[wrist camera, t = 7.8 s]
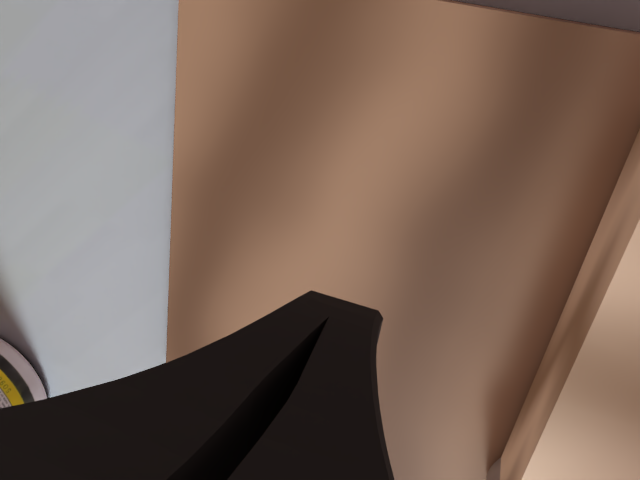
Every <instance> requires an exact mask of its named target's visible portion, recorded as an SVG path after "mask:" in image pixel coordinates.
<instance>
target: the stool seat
mask: <svg viewBox="0 0 640 480" xmlns="http://www.w3.org/2000/svg"><path fill="white" fill-rule="evenodd" d="M639 129H640V32H635V31H629V30H623V29H617V28H611V27H605V26H599V25H593V24H587V23H581V22H576V21H570V20H564V19H558V18H552V17H546V16H540V15H534V14H528V13H522V12H517V11H511V10H505V9H499V8H493V7H487V6H481V5H475V4H469V3H463V2H458V1H452V0H179V10H178V38H177V67H176V96H175V124H174V153H173V181H172V210H171V239H170V267H169V296H168V325H167V353H166V363H167V362H169V361H172V360H175V359H177V358H179V357H182V356H184V355H187V354H189V353H191V352H193V351H195V350H198V349H200V348H202V347H204V346H206V345H208V344H211V343H213V342H215V341H217V340H219V339H222V338H224V337H226V336H228V335H230V334H232V333H234V332H236V331H238V330H239V329H241V328H243V327H245V326H247V325H249V324H251V323H253V322H255V321H257V320H258V319H260V318H262V317H264V316H266V315H267V314H269V313H271V312H273V311H275V310H276V309H278V308H280V307H282V306H283V305H285V304H287V303H289V302H290V301H292V300H294V299H296V298H298V297H299V296H301V295H303V294H305V293H307V292H309V291H311V290H312V291H316V292H319V293H322V294H325V295H329V296H332V297H335V298H339V299H342V300H345V301H349V302H352V303H355V304H359V305H362V306H365V307H369V308H372V309H375V310H379V312H380V314H381V315H382V317H383V322H382V326H381V330H380V335H379V339H378V343H377V353H376V367H377V383H378V396H379V404H380V411H381V418H382V424H383V431H384V436H385V441H386V446H387V451H388V455H389V460H390V464H391V468H392V472H393V476H394V480H486V477H487V473H488V471H489V469H490V467H491V466H492V465H493V464H494V463H495V462H496V461H497V460H498V459H499V458H501V456H502V454H503V452H504V449H505V447H506V444H507V442H508V440H509V437H510V435H511V433H512V430H513V428H514V426H515V423H516V421H517V418H518V416H519V414H520V411H521V409H522V407H523V404H524V402H525V399H526V397H527V395H528V392H529V390H530V388H531V385H532V383H533V380H534V378H535V376H536V373H537V371H538V369H539V366H540V364H541V362H542V359H543V357H544V354H545V352H546V350H547V347H548V345H549V343H550V340H551V338H552V335H553V333H554V331H555V328H556V326H557V324H558V321H559V319H560V316H561V314H562V312H563V309H564V307H565V305H566V302H567V300H568V298H569V295H570V293H571V290H572V288H573V286H574V283H575V281H576V279H577V276H578V274H579V271H580V269H581V267H582V264H583V262H584V260H585V257H586V255H587V252H588V250H589V248H590V245H591V243H592V241H593V238H594V236H595V234H596V231H597V229H598V226H599V224H600V222H601V219H602V217H603V215H604V212H605V210H606V207H607V205H608V203H609V200H610V198H611V196H612V193H613V191H614V188H615V186H616V184H617V181H618V179H619V177H620V174H621V172H622V170H623V167H624V165H625V162H626V160H627V158H628V155H629V153H630V151H631V148H632V146H633V143H634V141H635V139H636V136H637V134H638V132H639Z"/></svg>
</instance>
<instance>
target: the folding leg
mask: <svg viewBox="0 0 640 480" xmlns="http://www.w3.org/2000/svg"><path fill="white" fill-rule="evenodd" d="M486 480H640V129H639V132H638V134H637V136H636V139H635V141H634V143H633V146H632V148H631V151H630V153H629V155H628V158H627V160H626V162H625V165H624V167H623V170H622V172H621V174H620V177H619V179H618V181H617V184H616V186H615V188H614V191H613V193H612V196H611V198H610V200H609V203H608V205H607V207H606V210H605V212H604V215H603V217H602V219H601V222H600V224H599V226H598V229H597V231H596V234H595V236H594V238H593V241H592V243H591V245H590V248H589V250H588V252H587V255H586V257H585V260H584V262H583V264H582V267H581V269H580V271H579V274H578V276H577V279H576V281H575V283H574V286H573V288H572V290H571V293H570V295H569V298H568V300H567V302H566V305H565V307H564V309H563V312H562V314H561V316H560V319H559V321H558V324H557V326H556V328H555V331H554V333H553V335H552V338H551V340H550V343H549V345H548V347H547V350H546V352H545V354H544V357H543V359H542V362H541V364H540V366H539V369H538V371H537V373H536V376H535V378H534V380H533V383H532V385H531V388H530V390H529V392H528V395H527V397H526V399H525V402H524V404H523V407H522V409H521V411H520V414H519V416H518V418H517V421H516V423H515V426H514V428H513V430H512V433H511V435H510V437H509V440H508V442H507V444H506V447H505V449H504V452H503V454H502V456H501V458H499V459H498V460H497V461H496V462H495V463H494V464H493V465H492V466H491V467H490V469H489V471H488V473H487V477H486Z"/></svg>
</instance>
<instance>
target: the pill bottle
mask: <svg viewBox="0 0 640 480" xmlns="http://www.w3.org/2000/svg"><path fill="white" fill-rule="evenodd" d="M43 399H47V396H46V392H45V389H44V387H43V385H42V382H41V380H40V378H39V376H38V375H37V373H36V371H35V370H34V369H33V367H32V366H31V365H30V363H29V362H28V361H27V360H26V359H25V358H24V357H23V356H22V355H21V354H20V353H19V352H18V351H17V350H16V349H15V348H14V347H12V346H11V345H10V344H8V343H7V342H5V341H4V340H2V339H0V408H5V407H10V406H15V405H20V404H24V403H29V402H34V401H39V400H43Z"/></svg>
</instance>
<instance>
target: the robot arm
mask: <svg viewBox="0 0 640 480" xmlns="http://www.w3.org/2000/svg"><path fill="white" fill-rule="evenodd" d="M382 322H383V317H382V315H381V314H380V312H379V310H375V309H372V308H369V307H365V306H362V305H359V304H355V303H352V302H349V301H345V300H342V299H339V298H335V297H332V296H329V295H325V294H322V293H319V292H316V291H312V290H311V291H309V292H307V293H305V294H303V295H301V296H299V297H298V298H296V299H294V300H292V301H290V302H289V303H287V304H285V305H283V306H282V307H280V308H278V309H276V310H275V311H273V312H271V313H269V314H267V315H266V316H264V317H262V318H260V319H258V320H257V321H255V322H253V323H251V324H249V325H247V326H245V327H243V328H241V329H239V330H238V331H236V332H234V333H232V334H230V335H228V336H226V337H224V338H222V339H219V340H217V341H215V342H213V343H211V344H208V345H206V346H204V347H202V348H200V349H198V350H195V351H193V352H191V353H189V354H187V355H184V356H182V357H179V358H177V359H175V360H172V361H169V362H167V363H164V364H162V365H159V366H156V367H153V368H150V369H147V370H145V371H142V372H139V373H136V374H133V375H130V376H127V377H124V378H121V379H118V380H115V381H111V382H107V383H104V384H100V385H96V386H93V387H89V388H85V389H81V390H78V391H74V392H70V393H67V394H63V395H59V396H56V397H52V398H47V399H43V400H39V401H34V402H29V403H24V404H20V405H15V406H10V407H5V408H0V480H394V476H393V472H392V468H391V464H390V460H389V455H388V451H387V446H386V441H385V436H384V431H383V424H382V418H381V411H380V404H379V396H378V383H377V367H376V353H377V343H378V339H379V335H380V330H381V326H382Z"/></svg>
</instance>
